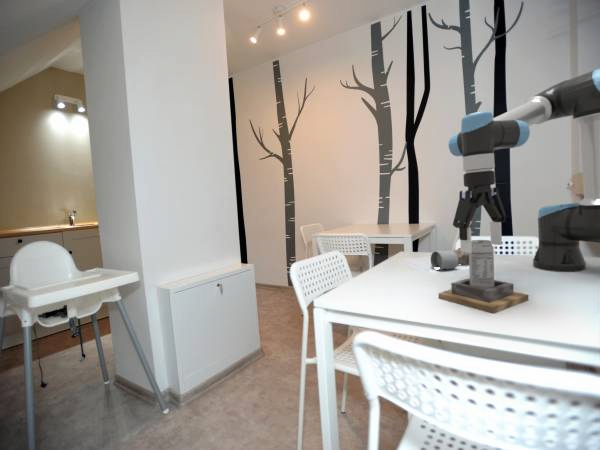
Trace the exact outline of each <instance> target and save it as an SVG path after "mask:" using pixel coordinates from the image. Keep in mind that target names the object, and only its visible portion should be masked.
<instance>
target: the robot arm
mask: <svg viewBox="0 0 600 450" xmlns="http://www.w3.org/2000/svg"><path fill="white" fill-rule="evenodd" d="M493 115H494V114H493V113H492V112H491V111H490V110H489V111H488V110H487V111H486V110H485V111H484V110H483V111H477V112H472V113H469V114H468V113H467V114H466V115H464V116H463V117H462V119H461V124H460V126H461V127H460V132H458V133H455V134H453V135H452V136H451V137H450V138H449V140H448V149H449V153H450V154H451V155H453V156H455V157H462V168H463V169H462V171H463V172H465V173H464V174H463V186H464V187H466V188H467V189H466V190H460V191H459V198H458V204H457V206H456V211H455V214H454V218H453V222H452V225H453V227H455V228H457V229H458V231H459V243H460V248H461V252H472V243H471V241H472V228H471V227H469V226H470V225H471V223H472V220H473V218H474V216H475V213H476V211H477V209H478V208H479V207H481V206H482V207H483V208H484V210H485V211H486V213H487V214H488V216H489V218H490V220H491V221H490V222H489V229H490V241H491V244H492V245H495V246H496V245H498V246H502V244H503V241H502V239H503V238H502V236H503V235H502V222H503V223H504V222H506V219H507V214H506V211H505V209H504V205H503V202H502V199H501V197H500V190H499V189H500V188H499V187H497V186H495V187H493V185H495V183H496V173H495V170H493V169H495V167H496V164H495V151H497V150H501V149H502V150H503V149H514V148H518V147H519V148H520V147H521V146H523V145H525V144H526V143H527V141H528V140H529V137H530V131H531V129H530V126H532V125H540V124H543V123H545V122H549V121H551V120H556V119H562V118H566V117H571V116H572V118H573V119H572V120H573V121H574V122H575V123H578V124H579V130H580V131H579V133H580V148H581V149H580V150H581V152H580V153H581V167H582V180H583V183H582V184H583V199H581V200H580V201H579V202H572V203H563V204H556V205H548V206H543V207H540V209H538V214H537V215H538V217H537V220H538V221H537V222H538V223H537V227H538V231H537V232H538V247H537V250H536V252H535V255H534V258H533V259H532V260H533V261H532V267H534V268H536V269H540V270H545V271H552V272H581V271H585V270H587V264H586V263H587V261H586V260H585V258H584V256H583V253H582V251H581V249H580V242H589V243H598V244H599V243H600V68H596V69H594V70H592V71H588V72H586V73H583V74H580V75H578V76H575V77H572V78H569V79H566V80H564V81H560V82H558V83H556V84H554V85H552V86H550V87H548V88H546V89H545V90H543V91H541V92H539V93H537V94H535V95H533V96H531V97H529V98H528V99H526V101H525V102H524V103H523V104H521V105H519V106H517V107H515V108H513V109H510V110H508V111H507V112H504V113H502V114H500V115H497V116H495V117H494V116H493ZM491 185H492V187H491Z"/></svg>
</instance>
